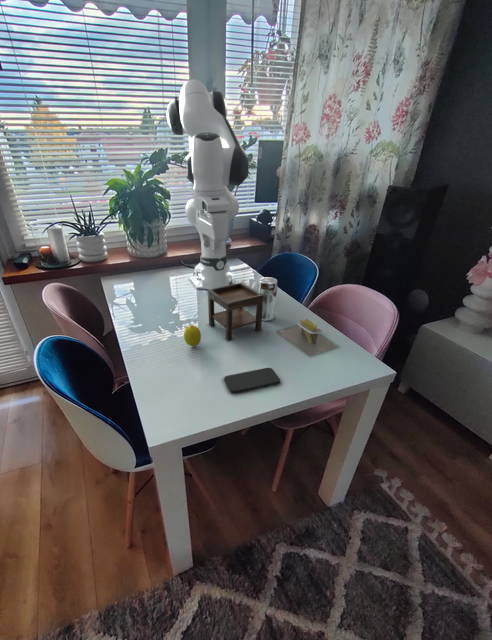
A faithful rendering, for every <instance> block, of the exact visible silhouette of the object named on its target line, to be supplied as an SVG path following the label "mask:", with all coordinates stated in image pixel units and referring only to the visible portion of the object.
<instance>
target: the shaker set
mask: <svg viewBox="0 0 492 640" xmlns="http://www.w3.org/2000/svg"><path fill="white" fill-rule="evenodd" d="M238 283H243V284H245V280H244V279H241V280H240V281H239V282H238ZM250 288H252V289H254V290H255V291H257V292H258V288H259V280H255V281H254V282H253V284H252V285H251V287H250Z"/></svg>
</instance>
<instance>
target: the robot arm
mask: <svg viewBox="0 0 492 640" xmlns="http://www.w3.org/2000/svg"><path fill="white" fill-rule="evenodd" d="M166 109H167V110H166V120H167V124H168V126H169V128H170V130H171V131H172V133H173V134H174V135H177V136H184V135H188V146H189V147H188V148H189V152H188V154H187V155H186V157H185V158H184V159H185V161H186V173H187V175H186V179H187V180H188V182H190V183H191V184H192V185H193V191H192V192H193V198H191V199H189V200H187V202H186V204H185V207H184V211H185V217H186V219H187V220H188V222H189V223H190V224H191V225H193V226H194V227H195V228H196V230H197V233H198V235H199V238H200V243H201V244H200V246H201V247H200V248H201V254H200V255H199V257H200V260H199V263H198V264H197V265H196V266H195V265H190V264H187V263H184V261H183V259H182V260H181V261H180V263H181V264H182V265H183V266H185V267H187V268H193V271H192V275H191V276H189V280H190V281H191V283H192V284H193V285H194V287H195V288H196V289H198V290H209V289H214V288H218V287H223V286H227V285H230V284H231V283H232V278H230V277H231V276H232V275H233V273H232V272H230V266H229V265H228V264H227V263H228V255H227V238H228V233H229V221H230V220H232V219H233V218H235V217H236V216H237V215H238V214H239V210H240V204H239V200H238V198H237V196H235V195H234V194H233V193H232V192H231V191H230V190H229V188H228V186H229V187H240V186H241V185H242V184H243V183H244V182H245V181H246V179H247V178H248V176H249V172H250V171H249V168H250V164H249V157H248V154H247V152H246V151H245V149H244V148H243V147H242V146H241V144H240V142H239V140H238V138H237V136H236V134H235V132H234V130H233V127H232V126H231V123H230V122H229V120H228V118H227V117H228V104H227V101H226V99H225V97H224V94H223V93H222V92H221V91H218V90H212V91H211V92H209V91H208V89H207V87H206V86H205V84H204V83H203V82H202V81H200V80H198V79H189V80H187V81H186V82H184V84H183V85H182V87H181V89H180V94H179V98H174V99H173V100H171V101H170V102H169V103H168V105H167V108H166Z"/></svg>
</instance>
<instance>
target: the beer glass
mask: <svg viewBox="0 0 492 640" xmlns="http://www.w3.org/2000/svg"><path fill="white" fill-rule="evenodd" d="M258 284H259V288H258V292H259V293H261V294H263V309H262V321H265V322H269V321H272V320H273V319H274V307H275V303H276V300H277V295H278V279H276V278H274V277H269V276H268V277H267V276H265V277H261V278H260V279H259V280H258Z"/></svg>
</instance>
